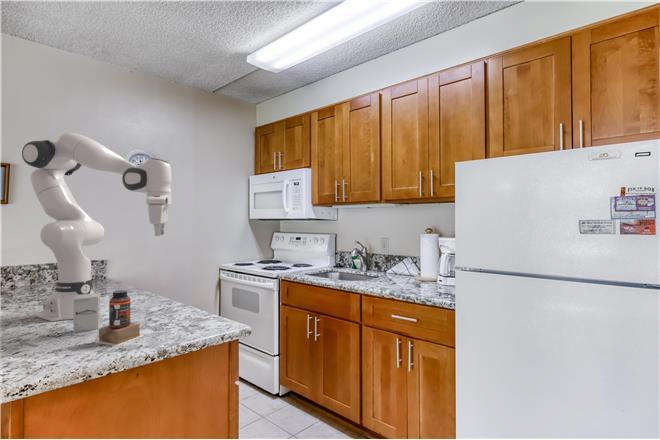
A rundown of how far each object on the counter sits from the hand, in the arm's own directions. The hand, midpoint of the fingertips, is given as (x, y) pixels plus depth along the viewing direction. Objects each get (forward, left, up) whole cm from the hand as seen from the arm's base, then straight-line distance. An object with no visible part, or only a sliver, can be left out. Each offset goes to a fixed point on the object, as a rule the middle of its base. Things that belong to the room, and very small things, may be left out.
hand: (159, 235), depth 139 cm
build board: (+4, -23, -33) cm, 40 cm away
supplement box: (-14, -19, -33) cm, 41 cm away
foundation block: (+7, -24, -32) cm, 41 cm away
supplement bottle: (+7, -24, -28) cm, 37 cm away
